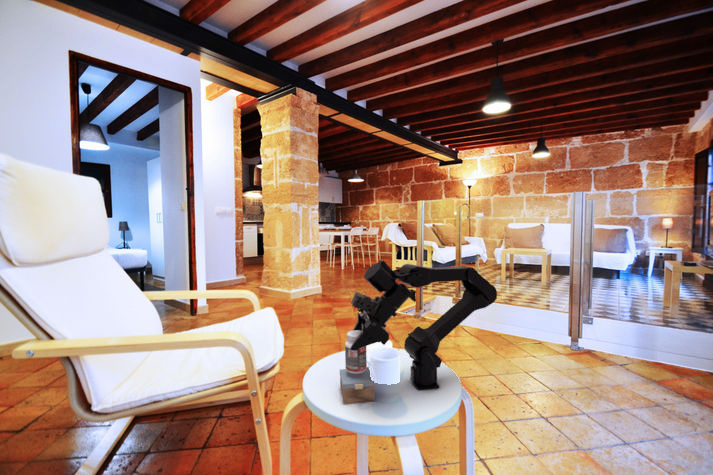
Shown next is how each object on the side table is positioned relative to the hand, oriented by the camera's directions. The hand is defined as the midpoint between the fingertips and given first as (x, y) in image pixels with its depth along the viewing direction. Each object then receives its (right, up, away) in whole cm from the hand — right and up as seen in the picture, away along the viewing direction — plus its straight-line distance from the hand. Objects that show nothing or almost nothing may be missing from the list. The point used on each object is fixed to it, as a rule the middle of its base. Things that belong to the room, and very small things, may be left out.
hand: (350, 344), depth 81 cm
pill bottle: (+2, -7, +1) cm, 7 cm away
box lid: (+2, -9, 0) cm, 10 cm away
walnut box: (+2, -13, 0) cm, 13 cm away
